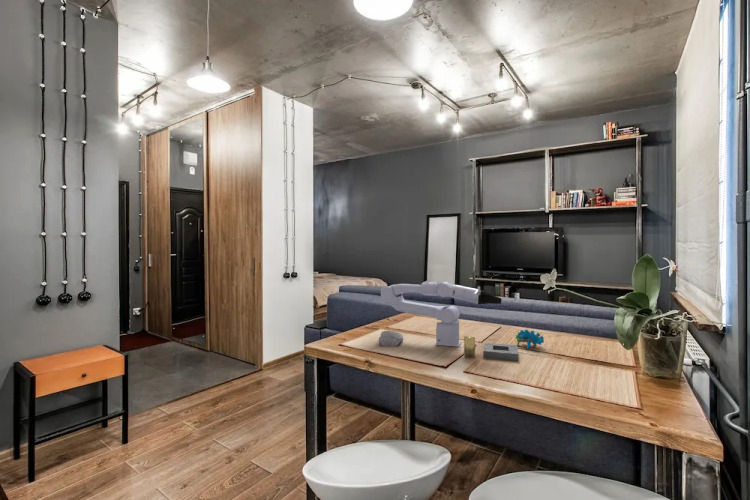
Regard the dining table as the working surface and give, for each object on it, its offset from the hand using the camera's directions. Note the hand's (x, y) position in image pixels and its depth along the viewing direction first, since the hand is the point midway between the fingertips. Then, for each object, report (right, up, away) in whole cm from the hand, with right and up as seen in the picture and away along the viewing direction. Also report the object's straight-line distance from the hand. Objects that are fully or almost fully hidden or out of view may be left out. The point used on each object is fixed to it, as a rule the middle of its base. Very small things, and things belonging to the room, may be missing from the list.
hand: (500, 301), depth 142 cm
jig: (-2, -20, -5) cm, 20 cm away
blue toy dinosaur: (+14, -19, +5) cm, 24 cm away
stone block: (-42, -20, +13) cm, 48 cm away
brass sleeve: (-14, -20, -6) cm, 25 cm away
